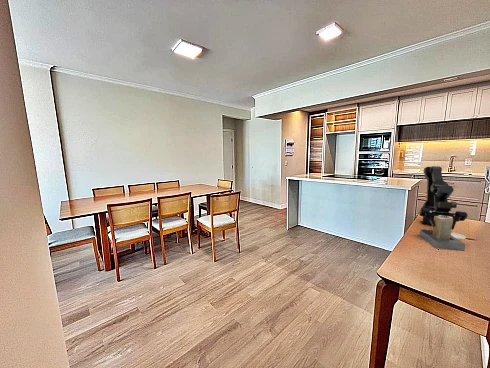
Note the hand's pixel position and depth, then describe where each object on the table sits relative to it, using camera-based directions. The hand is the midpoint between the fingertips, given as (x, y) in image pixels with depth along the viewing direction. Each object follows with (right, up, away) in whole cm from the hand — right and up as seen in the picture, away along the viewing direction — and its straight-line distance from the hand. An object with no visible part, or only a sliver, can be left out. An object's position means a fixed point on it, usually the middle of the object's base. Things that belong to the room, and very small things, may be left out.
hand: (443, 228), depth 112 cm
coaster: (+16, -7, +10) cm, 20 cm away
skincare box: (+1, -6, +3) cm, 7 cm away
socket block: (+1, -8, +3) cm, 9 cm away
